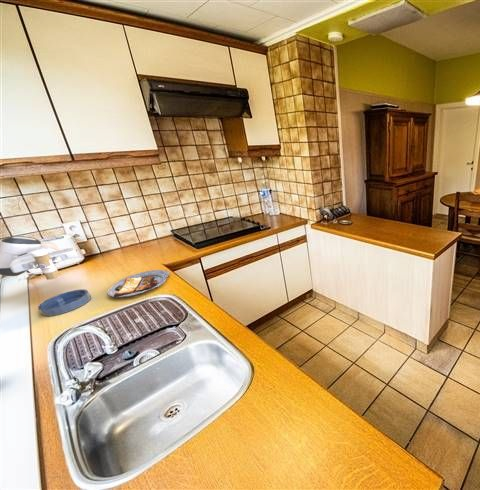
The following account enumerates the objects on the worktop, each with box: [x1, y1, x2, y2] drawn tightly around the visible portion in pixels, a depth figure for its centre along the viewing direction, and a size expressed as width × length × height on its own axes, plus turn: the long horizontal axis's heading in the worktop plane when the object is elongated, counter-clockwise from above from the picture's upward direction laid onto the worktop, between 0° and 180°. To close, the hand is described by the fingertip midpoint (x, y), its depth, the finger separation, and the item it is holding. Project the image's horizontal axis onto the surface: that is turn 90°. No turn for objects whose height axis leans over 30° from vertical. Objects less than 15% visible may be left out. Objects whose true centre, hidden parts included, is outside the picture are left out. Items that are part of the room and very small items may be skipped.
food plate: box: [106, 269, 171, 299], centre depth 132 cm, size 25×23×4 cm
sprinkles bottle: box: [31, 249, 62, 281], centre depth 118 cm, size 5×5×13 cm
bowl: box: [37, 288, 92, 317], centre depth 120 cm, size 16×16×4 cm
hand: (45, 264), depth 117 cm, fingers closed on sprinkles bottle, 4 cm apart
